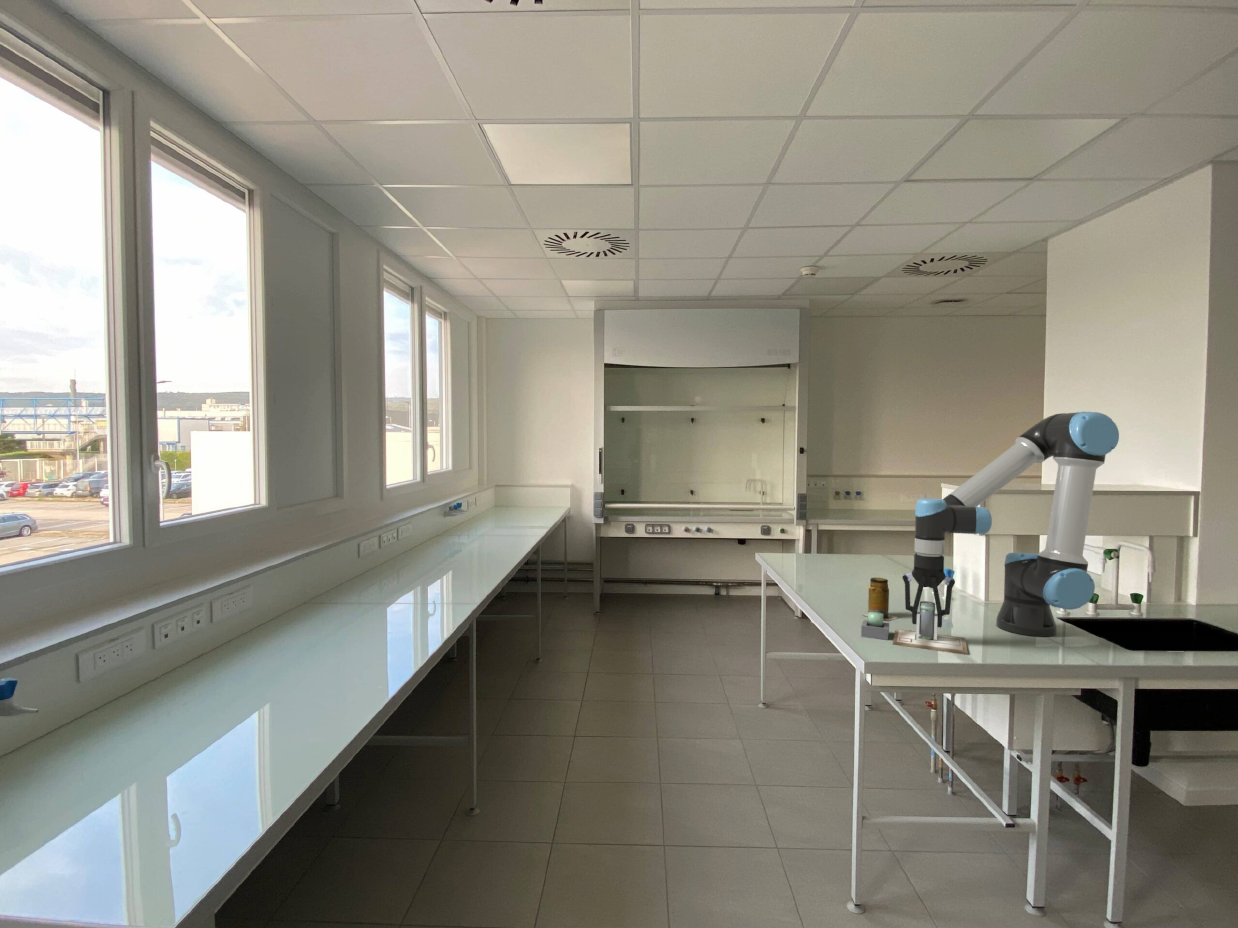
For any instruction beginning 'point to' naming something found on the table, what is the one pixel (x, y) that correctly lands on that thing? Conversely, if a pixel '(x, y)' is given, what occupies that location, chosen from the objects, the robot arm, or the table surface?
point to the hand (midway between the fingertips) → (926, 636)
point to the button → (875, 618)
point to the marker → (927, 619)
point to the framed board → (930, 642)
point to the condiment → (879, 598)
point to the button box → (875, 630)
